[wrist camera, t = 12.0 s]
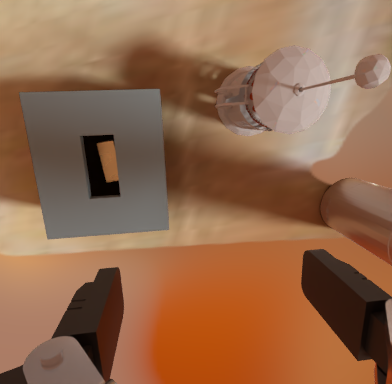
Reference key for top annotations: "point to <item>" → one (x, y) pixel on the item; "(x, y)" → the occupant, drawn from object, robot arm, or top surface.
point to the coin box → (77, 166)
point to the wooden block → (108, 160)
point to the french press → (287, 91)
